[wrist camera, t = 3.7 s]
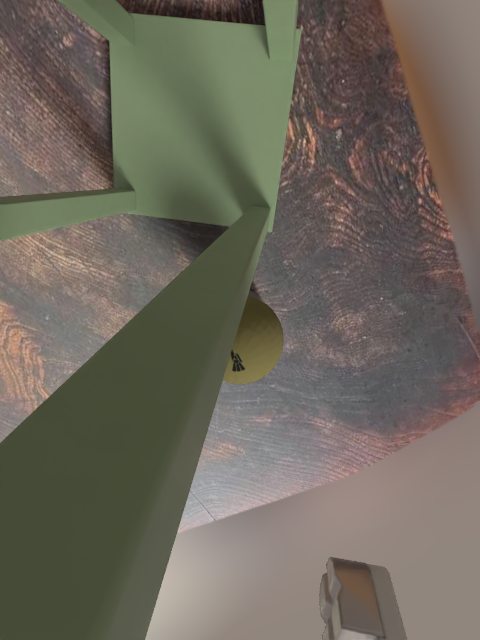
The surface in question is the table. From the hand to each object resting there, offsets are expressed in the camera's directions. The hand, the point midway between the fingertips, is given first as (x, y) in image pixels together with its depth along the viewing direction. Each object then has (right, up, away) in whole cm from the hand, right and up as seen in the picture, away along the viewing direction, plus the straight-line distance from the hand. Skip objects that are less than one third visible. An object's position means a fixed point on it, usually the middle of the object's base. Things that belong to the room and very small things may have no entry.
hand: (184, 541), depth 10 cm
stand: (-1, +20, +14) cm, 24 cm away
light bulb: (+2, +8, +19) cm, 21 cm away
